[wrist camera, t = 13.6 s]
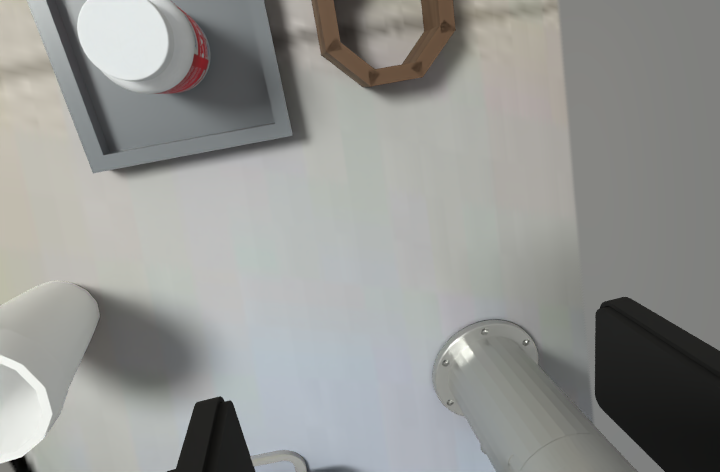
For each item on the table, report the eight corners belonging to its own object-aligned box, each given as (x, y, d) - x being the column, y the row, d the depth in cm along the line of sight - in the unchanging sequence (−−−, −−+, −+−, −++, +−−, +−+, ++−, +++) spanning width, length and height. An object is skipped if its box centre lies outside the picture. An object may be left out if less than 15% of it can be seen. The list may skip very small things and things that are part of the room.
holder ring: (441, 72, 39) (458, 71, 36) (327, 92, 38) (333, 93, 34) (429, -63, 36) (447, -80, 32) (303, -45, 34) (306, -61, 31)
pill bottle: (228, 61, 35) (207, 51, 25) (169, 109, 35) (124, 117, 25) (171, -11, 33) (122, -56, 23) (109, 40, 33) (33, 19, 23)
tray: (292, 132, 39) (292, 135, 36) (104, 167, 37) (93, 173, 35) (246, -80, 33) (244, -93, 31) (23, -51, 31) (3, -62, 29)
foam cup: (19, 249, 38) (-103, 326, 26) (130, 284, 41) (67, 369, 28) (-8, 339, 40) (-131, 450, 28) (100, 367, 43) (30, 479, 30)
